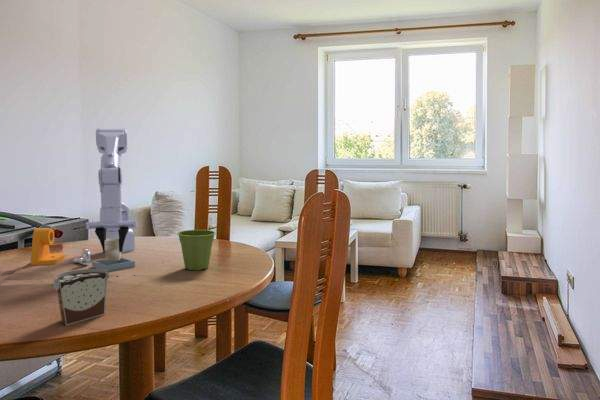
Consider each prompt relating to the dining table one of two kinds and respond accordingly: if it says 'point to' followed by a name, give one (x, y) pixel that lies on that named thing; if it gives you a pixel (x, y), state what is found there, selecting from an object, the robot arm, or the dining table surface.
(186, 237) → the plant pot
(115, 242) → the block
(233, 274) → the dining table surface
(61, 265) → the dining table surface
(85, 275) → the food container
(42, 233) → the bracket
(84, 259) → the crank
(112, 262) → the tray
